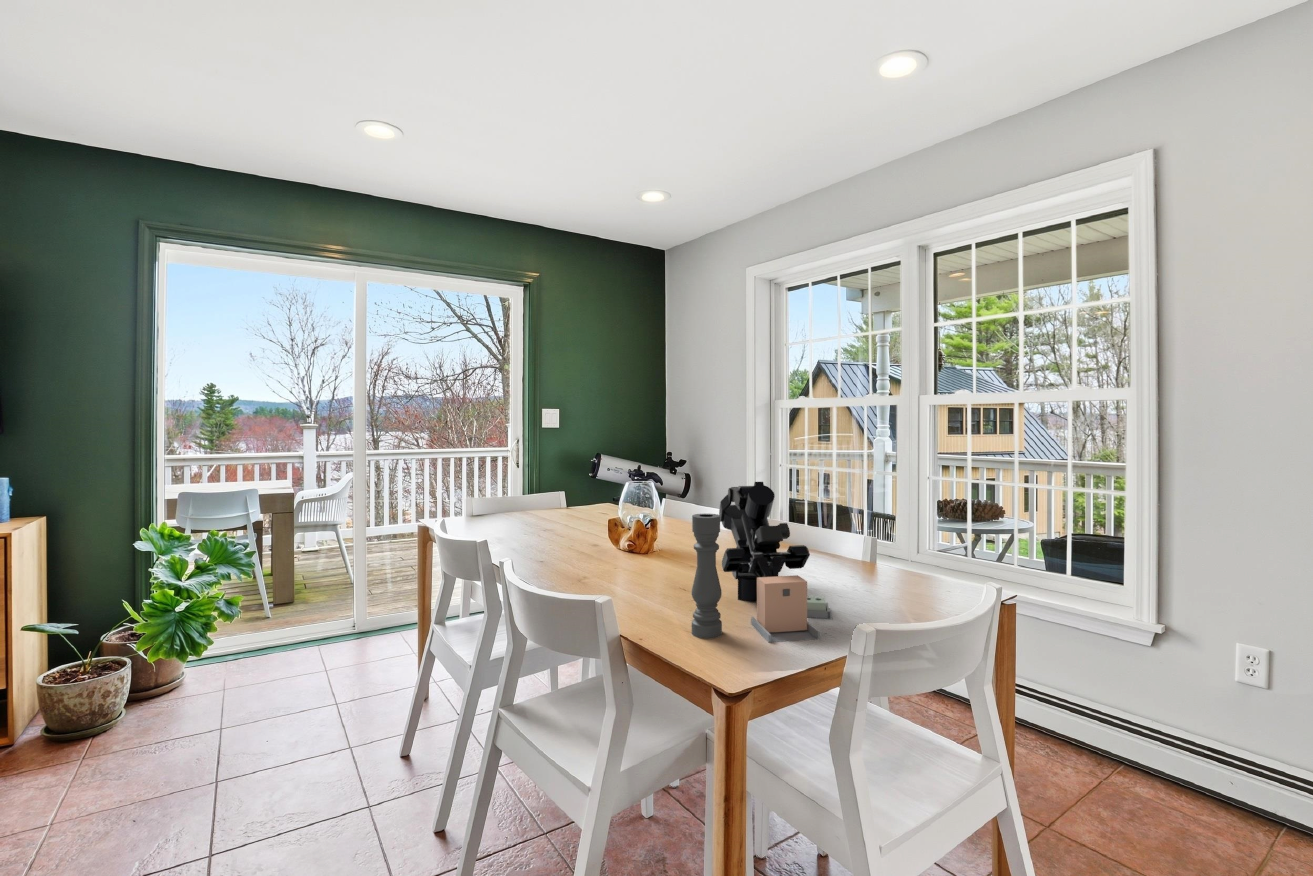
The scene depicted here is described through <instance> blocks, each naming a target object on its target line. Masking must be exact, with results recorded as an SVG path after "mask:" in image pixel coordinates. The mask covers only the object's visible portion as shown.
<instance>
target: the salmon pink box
mask: <svg viewBox="0 0 1313 876" xmlns="http://www.w3.org/2000/svg"><path fill="white" fill-rule="evenodd" d="M807 596H808V580H806V579H805V578H803V577H801V576H799V575H778V576H776V577H757V602H756V620H757V621H758V622H759V623H760V624H761V625H762V626H763V627H764V628H765V629H766V630H767V631H768V632H769V633H771V632H786V631H800V630H807V621H808V618H807Z"/></svg>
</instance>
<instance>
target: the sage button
mask: <svg viewBox="0 0 1313 876" xmlns="http://www.w3.org/2000/svg"><path fill="white" fill-rule="evenodd" d="M826 603H827V601H826V598H825V596H823V595H822V596H820V595H807V610H818V611H826Z"/></svg>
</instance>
